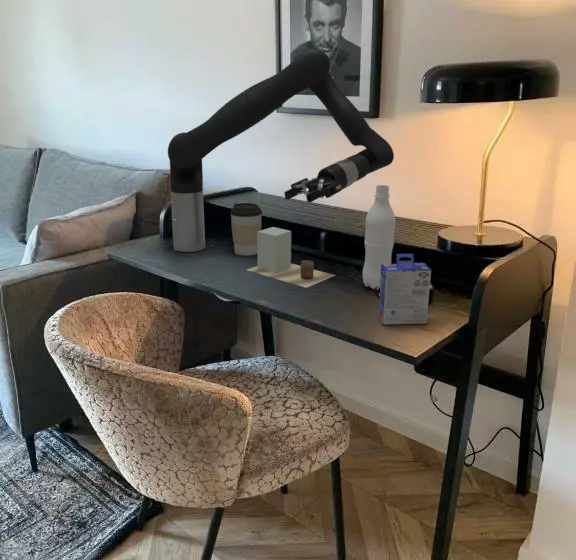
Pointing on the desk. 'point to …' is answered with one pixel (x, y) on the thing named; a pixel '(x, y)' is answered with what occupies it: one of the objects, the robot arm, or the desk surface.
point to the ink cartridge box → (404, 292)
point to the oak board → (297, 274)
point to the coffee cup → (245, 227)
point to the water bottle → (378, 237)
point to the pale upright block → (274, 249)
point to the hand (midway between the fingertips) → (296, 197)
